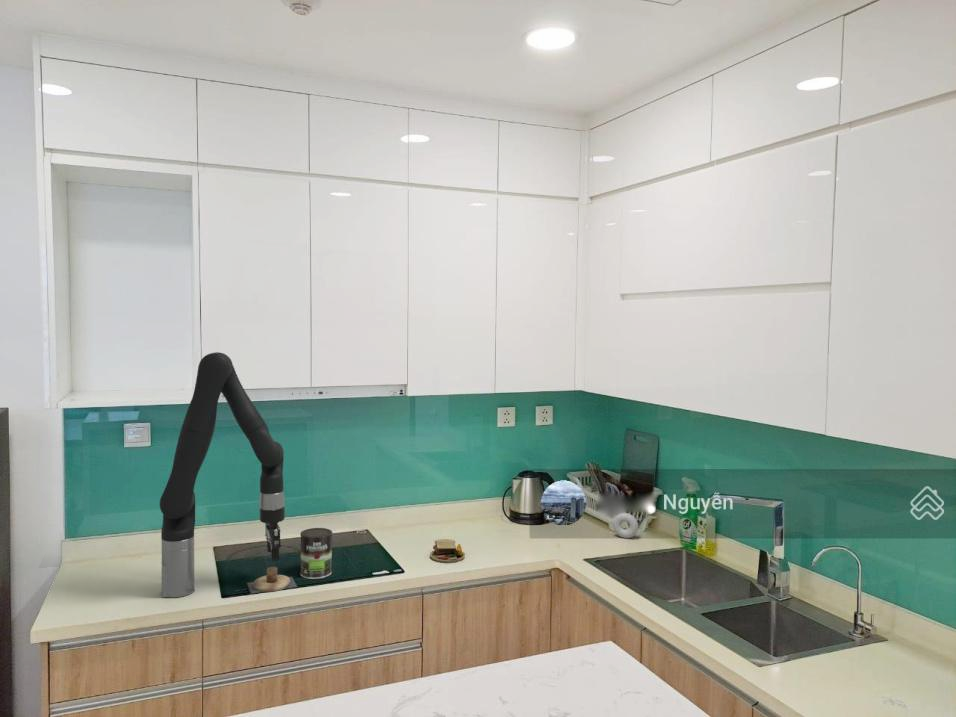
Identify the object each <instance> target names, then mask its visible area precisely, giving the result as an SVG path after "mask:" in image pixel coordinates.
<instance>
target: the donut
mask: <svg viewBox="0 0 956 717" xmlns="http://www.w3.org/2000/svg"><path fill="white" fill-rule="evenodd" d="M624 522H625V523H628V526H629V527H628V528H627V529H626V528H624V527H623V525H622V523H624ZM612 527H613V530H614V532H615V533H616V534H617V536H619V537H621V538H624V539H630V538H632V537H633V538H634V536H635V535H636V534H637V532H638V530H639V523H638V520H637V519H636V517H635V516H634V515H632V514H631V513H628V512H621V513H618V514H617V515H616V516H615V517H614V519H613V522H612Z"/></svg>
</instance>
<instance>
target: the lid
mask: <svg viewBox="0 0 956 717" xmlns="http://www.w3.org/2000/svg"><path fill="white" fill-rule="evenodd" d="M289 577H290V576H287V575H284V574H278V566H277V567H276V566H269V567H267V568H266V575H263V576H260V577H258V578H257V579H255V580H253V582H254V588H255V589H256V590H258V591H264V592H263V593H265V592H267V593H268V592H269V593H270V592H272V593H273V592H277V591H282V590H284V589H285V588H286V587H288V586H289V585H290V578H289ZM286 589H287V588H286Z"/></svg>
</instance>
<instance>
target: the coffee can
mask: <svg viewBox="0 0 956 717" xmlns="http://www.w3.org/2000/svg"><path fill="white" fill-rule="evenodd" d="M299 535H300V571H299V572H300V576H301V577H302V578H304V579H312V580H314V579H322V578H326V577H329V576H330V575H331V574H332V572H333V571H332V569H333V568H332V567H333V566H332V564H333V563H332V559H333V558H332V556H333V554H332V553H333V549H332V548H333V530H332V529H329V528H325V527H312V528H307V529H304V530H302V531H300V534H299Z"/></svg>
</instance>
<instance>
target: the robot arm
mask: <svg viewBox="0 0 956 717" xmlns="http://www.w3.org/2000/svg"><path fill="white" fill-rule="evenodd" d="M195 379H196V380H195V385H194V390H193V394H192V397H191V400H190V402H189V406H188V408H187V411H186V413H185V415H184V416H185V417H184V419H183V422H182V424H181V428H180V431H179V434H178V438H177V444H176V448H175V452H174V457H173V463H172V469H171V471H170V474H169V477H168V479H167V482H166V485H165V488H164V489H163V493H162V494H161V496H160V499H159V508H160V512H161V513H162V525H161V530H160V531H161V533H160V534H161V536H160V538H161V598H181V597H185V596H188V595H190V594H193V592H195V590H196V589H195V588H196V587H195V583H196V582H195V528H196V527H195V526H196V494H195V491H194V490H195V485H196V481H197V477H198V474H199V472H200V469H201V467H202V465H203V464H204V461H205V459H206V456H207V454H208V451H209V449H210V446H211V442H212V440H213V436H214V432H215V428H216V421H217V411H218V404H219V399H220V396H221V394H222V396H223V397H224V398H225V400H226V402H227V404H228V406H229V408H230V410H231V413H232V415H233V417H234V420H235V421H236V423H237V425H238V426H239V428H240V429H241V431H242V432H243V434H244V435H245V438H246V439H248V441H249V443H250V446H251V448H252V450H253V453H254V454H255V455H254V456H255V457H256V458H257V460H258V462H260V464H261V466H260V467H261V474H260V478H259V491H260V492H259V521H260V522H261V523H263V524H264V525H265V527H264V528H265V532H264V533H265V534H264V535H265V537H266V538H265V539H266V546H267V547H266V548H267V553H270V554H271V561H272V562H275V561H276V562H278V561H279V560H280V549H281V547H282V545H281V526H280V525H279V524H278V523H281V522H283V521H284V520H285V516H286V513H285V504H286V503H285V494H284V475H283V471H284V448H283V446H282V445H281V443H279V442H277V441H276V440H274V438H273V437H272V435H271V434H270V430H269V427H268V425H267V423H266V422H265V419H264V417H262V416H261V414H260V412H259V411H258V409H257V408H256V406H255V405H254V403H253V401H252V400H251V399H250V397H249V395H248V394H247V392H246V391H245V388H244V387H243V385H242V383H241V381H240V378H239V376H238V374H237V372H236V369H235V367H234V365H233V361H232V359H231V358H230V357H229V356H228V355H227V354H225V353H222V352H218V351H217V352H216V351H215V352H211V353H207V354H206V355H204V356H203V357H202V358H201V360H200V361H199V363H198V367H197V373H196V378H195ZM275 543H276V544H275Z"/></svg>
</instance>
